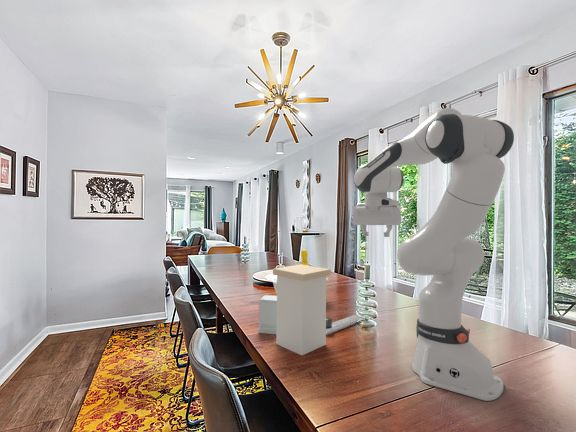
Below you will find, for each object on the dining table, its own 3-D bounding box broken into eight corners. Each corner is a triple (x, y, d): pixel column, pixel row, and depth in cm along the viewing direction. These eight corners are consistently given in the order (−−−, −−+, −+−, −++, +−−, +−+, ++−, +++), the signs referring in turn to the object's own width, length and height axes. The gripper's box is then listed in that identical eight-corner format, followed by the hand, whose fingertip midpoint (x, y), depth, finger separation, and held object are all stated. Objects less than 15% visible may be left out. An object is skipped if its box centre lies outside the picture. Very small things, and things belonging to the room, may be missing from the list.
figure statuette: (319, 286, 194) (319, 251, 194) (308, 288, 191) (308, 251, 190) (305, 281, 210) (305, 248, 210) (294, 282, 207) (295, 248, 206)
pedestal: (329, 344, 108) (330, 269, 108) (302, 357, 99) (303, 274, 98) (300, 333, 118) (300, 264, 118) (272, 344, 108) (273, 268, 108)
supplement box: (277, 334, 117) (277, 300, 117) (258, 333, 118) (258, 299, 118) (281, 327, 124) (282, 295, 124) (263, 326, 126) (264, 294, 125)
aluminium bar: (361, 322, 132) (361, 309, 132) (327, 336, 117) (327, 321, 117) (353, 320, 135) (354, 307, 134) (319, 333, 119) (320, 318, 119)
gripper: (349, 203, 133) (349, 235, 133) (395, 200, 118) (395, 237, 118) (358, 203, 137) (358, 235, 137) (403, 201, 123) (403, 237, 122)
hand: (375, 236), depth 127 cm, fingers open, 8 cm apart
